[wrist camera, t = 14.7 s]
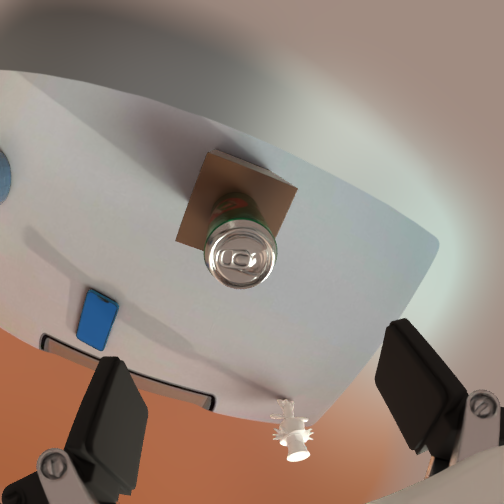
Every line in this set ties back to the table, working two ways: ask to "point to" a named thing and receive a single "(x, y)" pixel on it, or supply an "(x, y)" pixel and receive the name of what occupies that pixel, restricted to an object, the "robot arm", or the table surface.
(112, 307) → the smartphone
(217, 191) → the plinth
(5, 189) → the bowl
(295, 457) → the figurine
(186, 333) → the table surface
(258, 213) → the soda can
